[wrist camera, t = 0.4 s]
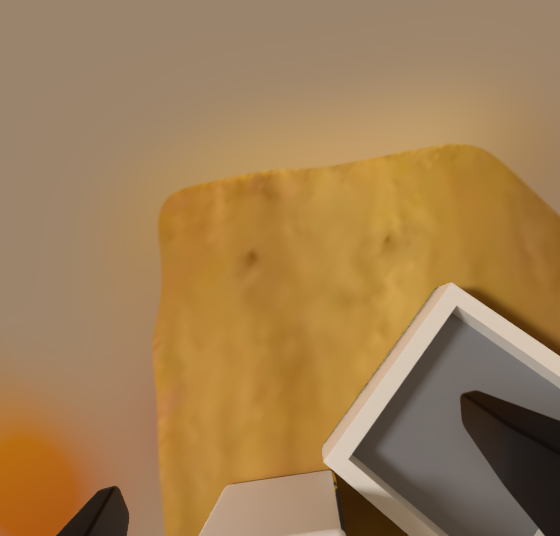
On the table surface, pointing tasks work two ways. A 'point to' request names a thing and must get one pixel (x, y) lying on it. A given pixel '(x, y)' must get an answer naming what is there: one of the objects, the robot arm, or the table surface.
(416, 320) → the walled box
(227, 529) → the medicine bottle
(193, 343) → the table surface
